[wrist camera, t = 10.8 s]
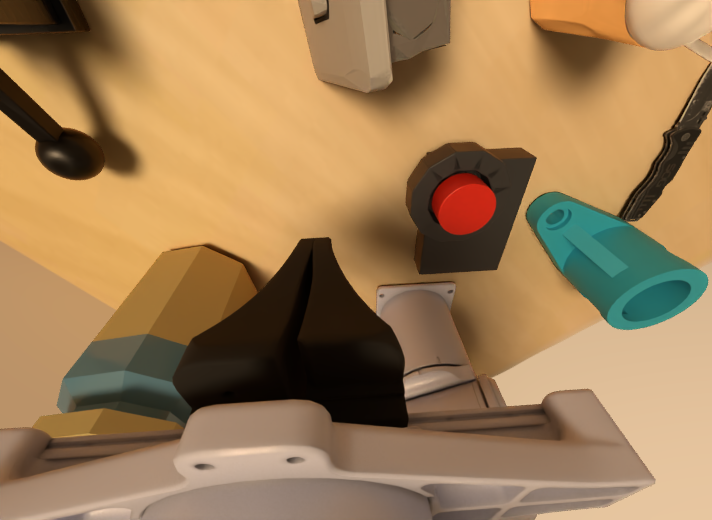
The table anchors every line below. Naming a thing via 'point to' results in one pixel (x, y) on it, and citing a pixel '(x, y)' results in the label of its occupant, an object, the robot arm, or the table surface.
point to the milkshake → (631, 21)
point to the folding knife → (673, 149)
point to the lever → (51, 135)
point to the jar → (148, 347)
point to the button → (463, 204)
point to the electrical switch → (370, 37)
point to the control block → (486, 245)
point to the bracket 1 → (41, 17)
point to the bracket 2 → (614, 263)
